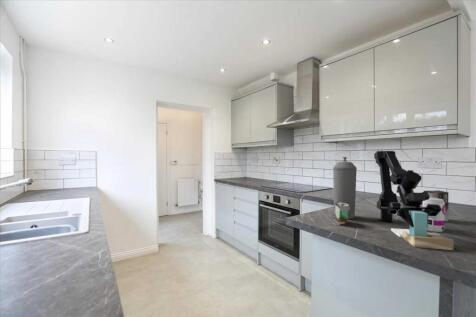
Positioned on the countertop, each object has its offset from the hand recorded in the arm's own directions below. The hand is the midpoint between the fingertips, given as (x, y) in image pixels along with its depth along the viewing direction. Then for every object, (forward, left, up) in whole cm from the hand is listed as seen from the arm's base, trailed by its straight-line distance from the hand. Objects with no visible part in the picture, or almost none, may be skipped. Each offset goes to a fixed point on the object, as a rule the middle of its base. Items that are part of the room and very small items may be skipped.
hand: (419, 227), depth 94 cm
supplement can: (-27, +2, -7) cm, 28 cm away
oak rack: (-2, +2, -7) cm, 7 cm away
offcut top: (-4, +4, -5) cm, 8 cm away
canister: (-19, -37, -7) cm, 42 cm away
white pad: (-10, -6, -7) cm, 13 cm away
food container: (-7, -33, -7) cm, 35 cm away
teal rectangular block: (-1, -1, -7) cm, 7 cm away
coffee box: (-49, +1, -7) cm, 50 cm away
